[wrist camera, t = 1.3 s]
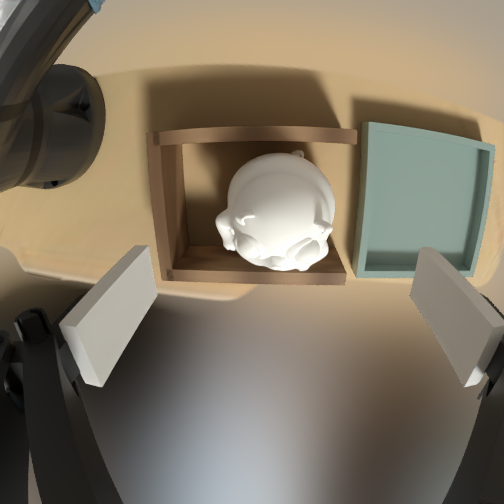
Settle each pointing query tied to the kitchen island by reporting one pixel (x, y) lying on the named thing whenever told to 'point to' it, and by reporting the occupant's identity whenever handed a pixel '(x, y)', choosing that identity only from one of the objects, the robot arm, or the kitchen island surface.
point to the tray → (419, 199)
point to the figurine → (278, 212)
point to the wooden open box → (218, 257)
